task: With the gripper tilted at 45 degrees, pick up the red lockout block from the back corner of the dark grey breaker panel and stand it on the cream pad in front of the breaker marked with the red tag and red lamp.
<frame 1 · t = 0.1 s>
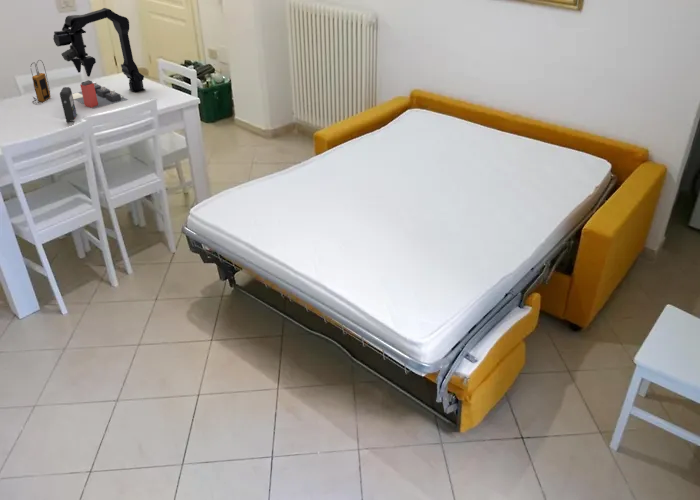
hand: (84, 74, 299), 15 cm above the table, fingers open, 9 cm apart
lockout block: (91, 105, 299), point 1 cm above the table, touching breaker panel
breaker panel: (97, 100, 310), on the table
card reader: (72, 120, 286), on the table
multimeter: (38, 99, 308), on the table
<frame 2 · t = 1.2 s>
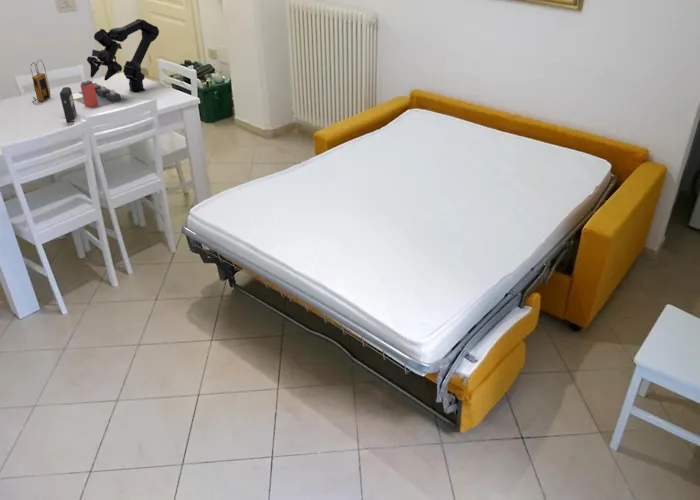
hand: (98, 78, 299), 13 cm above the table, fingers open, 9 cm apart
nothing on the table moved.
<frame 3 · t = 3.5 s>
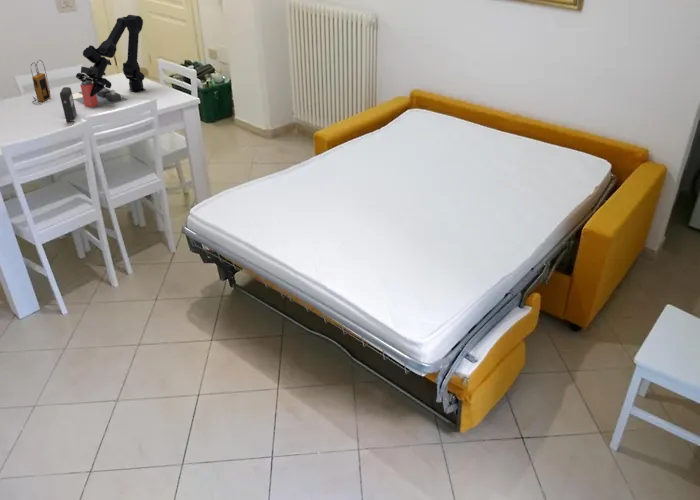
hand: (87, 95, 295), 7 cm above the table, fingers closed on lockout block, 4 cm apart
lockout block: (91, 105, 299), point 2 cm above the table, touching breaker panel, gripper
everything else where it was.
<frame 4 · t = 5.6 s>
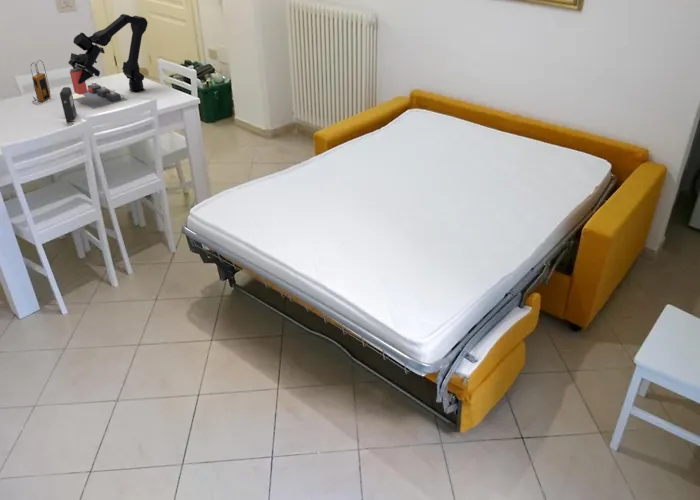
hand: (76, 82, 295), 12 cm above the table, fingers closed on lockout block, 4 cm apart
lockout block: (81, 92, 299), point 7 cm above the table, touching gripper
everything else where it was.
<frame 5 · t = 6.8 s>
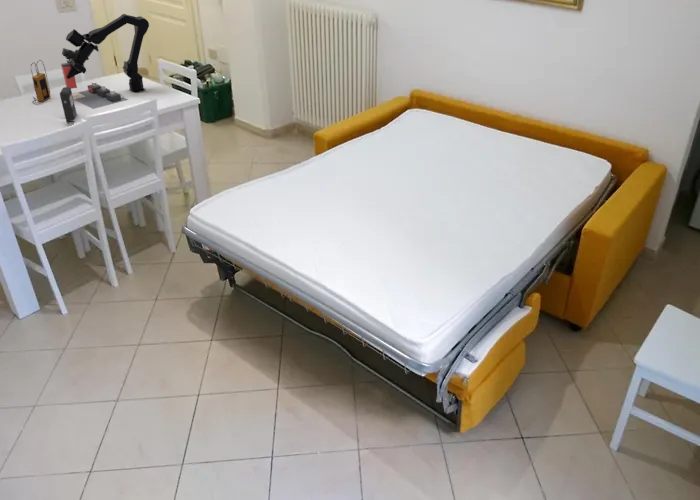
hand: (66, 76, 302), 12 cm above the table, fingers closed on lockout block, 4 cm apart
lockout block: (71, 87, 306), point 7 cm above the table, touching gripper
everything else where it was.
when the fingers open (8 cm above the table, at t = 7.9 s): lockout block drops 1 cm, resting on breaker panel.
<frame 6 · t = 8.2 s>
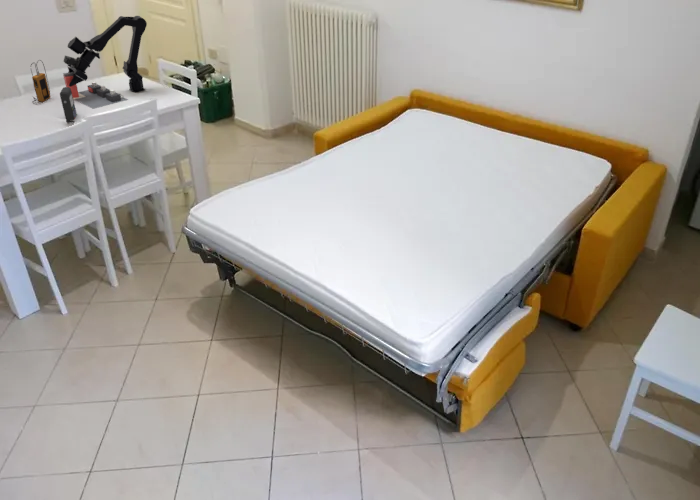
hand: (67, 83, 304), 9 cm above the table, fingers open, 8 cm apart
lockout block: (73, 96, 309), point 2 cm above the table, touching breaker panel
everything else where it was.
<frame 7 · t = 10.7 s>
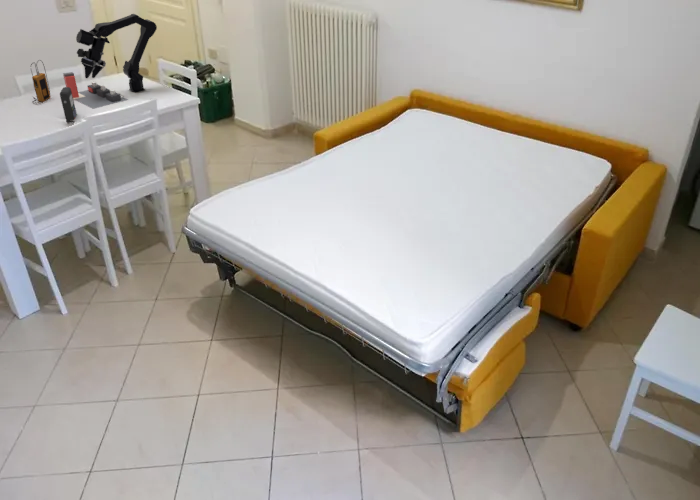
hand: (89, 78, 306), 11 cm above the table, fingers open, 9 cm apart
nothing on the table moved.
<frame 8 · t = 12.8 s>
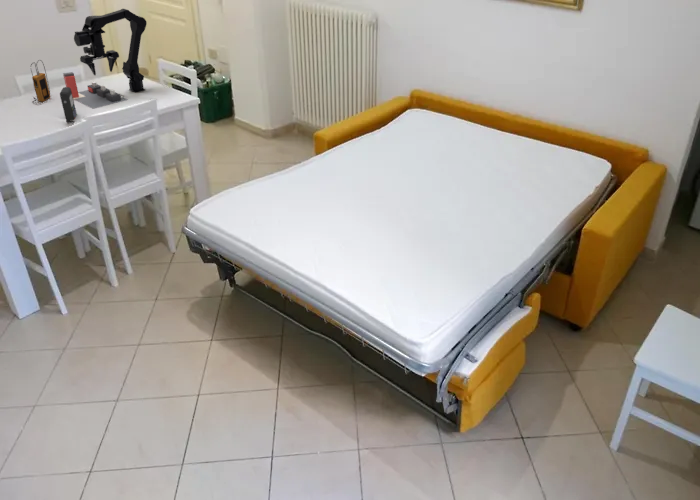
hand: (103, 73, 307), 13 cm above the table, fingers open, 9 cm apart
nothing on the table moved.
at the end: lockout block 0.0 cm from the target spot on the breaker panel, point 1.7 cm above the breaker panel's base; lockout block tilted 0°; the gripper is holding nothing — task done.
